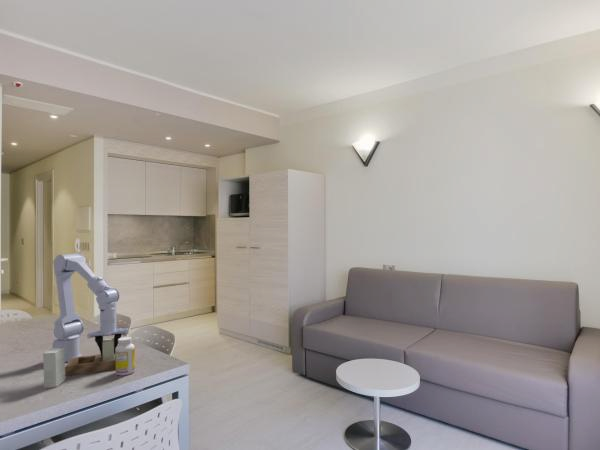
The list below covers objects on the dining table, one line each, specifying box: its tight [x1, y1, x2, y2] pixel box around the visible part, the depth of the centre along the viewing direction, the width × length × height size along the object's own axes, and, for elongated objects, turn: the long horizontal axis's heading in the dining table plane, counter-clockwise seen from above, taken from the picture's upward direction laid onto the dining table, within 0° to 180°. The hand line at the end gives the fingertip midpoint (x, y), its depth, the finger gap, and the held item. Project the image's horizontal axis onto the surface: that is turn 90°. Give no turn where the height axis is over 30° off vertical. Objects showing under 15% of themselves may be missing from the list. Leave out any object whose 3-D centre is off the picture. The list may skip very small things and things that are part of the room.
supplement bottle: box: [115, 336, 136, 376], centre depth 143 cm, size 7×7×13 cm
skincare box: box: [42, 347, 66, 389], centre depth 133 cm, size 6×4×12 cm
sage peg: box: [102, 337, 115, 361], centre depth 152 cm, size 4×4×8 cm
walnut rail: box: [65, 353, 116, 377], centre depth 150 cm, size 20×11×3 cm, turn 112°
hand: (108, 354), depth 152 cm, fingers closed on sage peg, 4 cm apart
